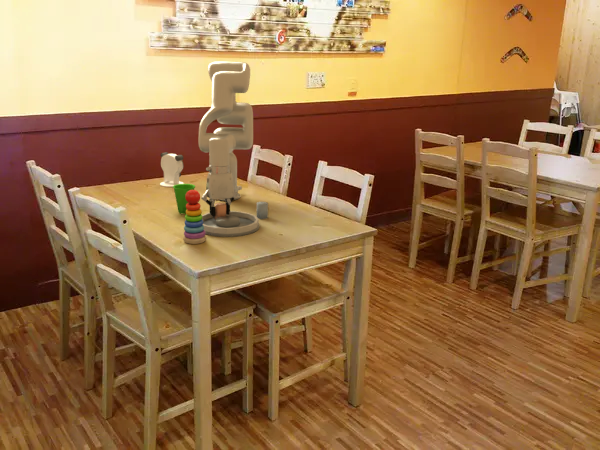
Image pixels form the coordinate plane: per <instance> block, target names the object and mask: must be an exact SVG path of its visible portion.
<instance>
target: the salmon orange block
mask: <svg viewBox="0 0 600 450" xmlns="http://www.w3.org/2000/svg"><path fill="white" fill-rule="evenodd" d="M214 207H215V220H216V218H218V217H221V216H226V202H215V203H214Z"/></svg>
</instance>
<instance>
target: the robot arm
mask: <svg viewBox="0 0 600 450" xmlns="http://www.w3.org/2000/svg"><path fill="white" fill-rule="evenodd" d="M207 71H208V76H209V79H210V80H211V101H210V103H211V106H210V108H209V109H208V111H207V112H206V113H205V114H204V115H203V117H202V119H201V120H200V122H199V127H198V139H197V140H198V147H199V151H201V152H203V153H209V154H208V156H209V159H208V160H209V161H208V163H209V165H208V166H207V167H206V168H205V170H206V171H207V172H208V173H207V177H206V183H205V184H206V185H205V188H206V189H205V192H204V193H203V195H202V196H200V200H202V201H204V203H206V204H207V205H208V206H209V213H210V214H211V215H212V216H213V217H215V203H216V201H225V203H226V214H227V215H229V212H230V211H231V205H232V202H233V201H236V200H239V199H240V198H241V194H240V193H239V191H240V190H242V189H243V186H242V185H238V159H237V156H236V154H234V150H250V149H252V147H253V145H254V112H253V111H254V110H253V106H252V105H251V104H250V103H249V102H242V101H241V102H240V101H239V102H237V99H236V96H237V95H236V94H246V93H247V92H248V91H249V89H250V81H251V67H250V65H249V64H248V63H247V62H243V61H213V62H210V63H208V66H207ZM216 120H217V122H218V123H219V124H222V125H235V126H236V125H239V126H240V125H241V126H242V127H235V126H234V127H229V126H228V127H227V126H226V127H224V126H222V127H218V128H216V129H215V130H213V133H212V132H207V128H208V126H209V125H210V124H211V123H212V122H214V121H216ZM208 198H209V199H208Z"/></svg>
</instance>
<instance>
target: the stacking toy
mask: <svg viewBox="0 0 600 450" xmlns="http://www.w3.org/2000/svg"><path fill="white" fill-rule="evenodd" d="M185 198H186V201H187V202H188V203H187V204H186V208H187V210H186V214H184V215H185V216H184V220H185V221H184V226H183V235H184V236H183V237H182V239H183V242H184V243H186V244H189V245H196V244H197V245H198V244H203V243H204V242H205V241H206V240H207V237H206V234H205V230H204V226H203V220H202V215H203V213H202V212H203V211H202V209H201V206H202V205H201V203H199V202H200V201H201V194H200V193H199V191H198V190H196V189H194V190H189V191H188V192H187V193H186V196H185Z"/></svg>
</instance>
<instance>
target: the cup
mask: <svg viewBox="0 0 600 450" xmlns="http://www.w3.org/2000/svg"><path fill="white" fill-rule="evenodd" d="M195 188H196V185H195V184H193V183H192V184H191V183H184V184H177V185H174V186H173V187H172V189H173V190H174V196H175V201H176V205H177V211H178V213H179V214H181V215H186V210H187V208H186V204H187V203H188V202H187V201H186V198H185V196H186V193H187V192H188V191H189V190H195Z"/></svg>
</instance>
